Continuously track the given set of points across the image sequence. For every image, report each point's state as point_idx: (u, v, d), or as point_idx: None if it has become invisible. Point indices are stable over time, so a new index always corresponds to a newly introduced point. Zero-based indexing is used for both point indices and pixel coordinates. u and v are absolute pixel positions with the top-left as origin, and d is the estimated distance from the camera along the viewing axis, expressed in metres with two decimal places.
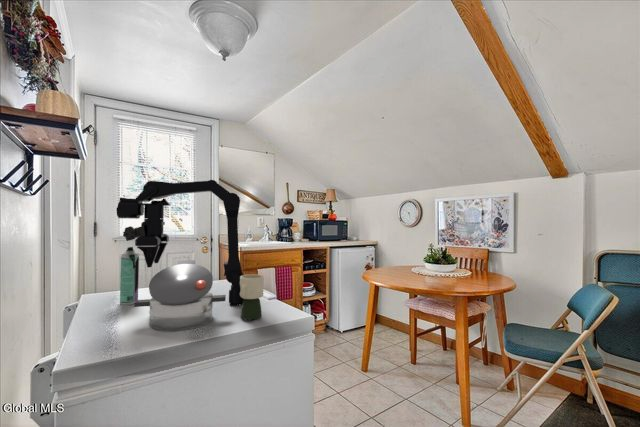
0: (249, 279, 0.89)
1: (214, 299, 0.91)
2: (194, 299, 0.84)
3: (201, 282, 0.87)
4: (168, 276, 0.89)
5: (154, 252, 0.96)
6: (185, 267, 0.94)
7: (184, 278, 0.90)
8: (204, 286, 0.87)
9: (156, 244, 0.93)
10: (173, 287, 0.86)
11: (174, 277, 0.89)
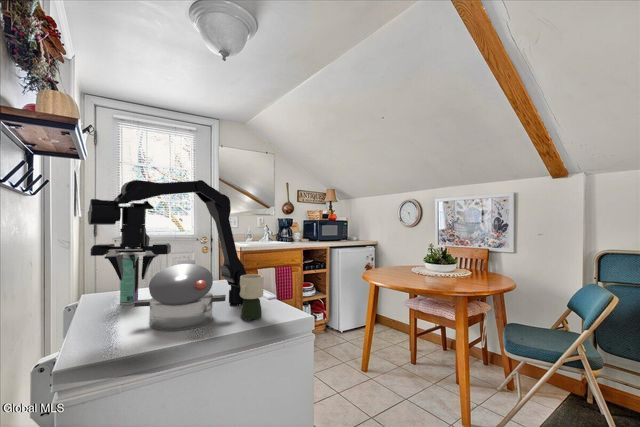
0: (249, 279, 0.89)
1: (214, 299, 0.91)
2: (194, 299, 0.84)
3: (201, 282, 0.87)
4: (168, 276, 0.89)
5: None
6: (185, 267, 0.94)
7: (184, 278, 0.90)
8: (204, 286, 0.87)
9: (91, 254, 0.80)
10: (173, 287, 0.86)
11: (174, 277, 0.89)
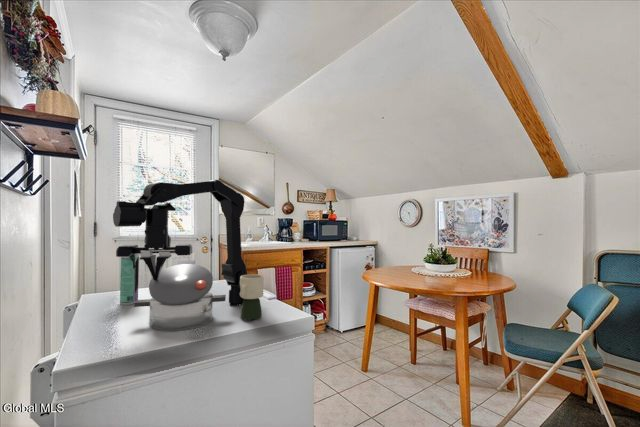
0: (249, 279, 0.89)
1: (214, 299, 0.91)
2: (194, 299, 0.84)
3: (201, 282, 0.87)
4: (168, 276, 0.89)
5: None
6: (185, 267, 0.94)
7: (184, 278, 0.90)
8: (204, 286, 0.87)
9: (117, 255, 0.82)
10: (173, 287, 0.86)
11: (174, 277, 0.89)
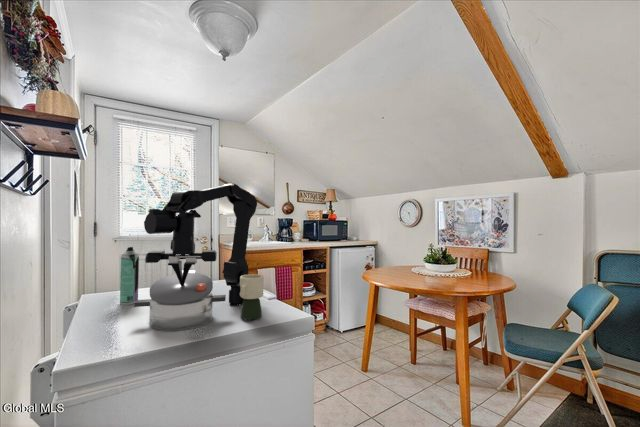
0: (249, 279, 0.89)
1: (214, 299, 0.91)
2: (194, 299, 0.84)
3: (201, 284, 0.88)
4: (169, 282, 0.90)
5: None
6: None
7: (184, 283, 0.90)
8: (204, 288, 0.87)
9: (146, 261, 0.84)
10: (173, 290, 0.86)
11: (174, 283, 0.90)
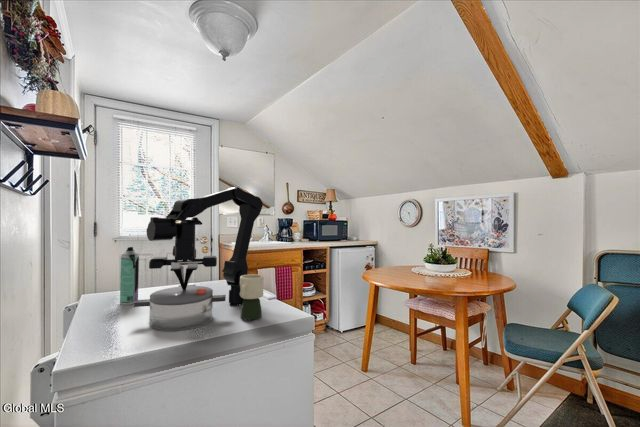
0: (249, 279, 0.89)
1: (214, 299, 0.91)
2: (194, 300, 0.84)
3: (201, 289, 0.89)
4: (169, 291, 0.91)
5: None
6: None
7: (185, 291, 0.91)
8: (204, 292, 0.88)
9: (150, 267, 0.88)
10: (174, 295, 0.87)
11: (175, 291, 0.91)
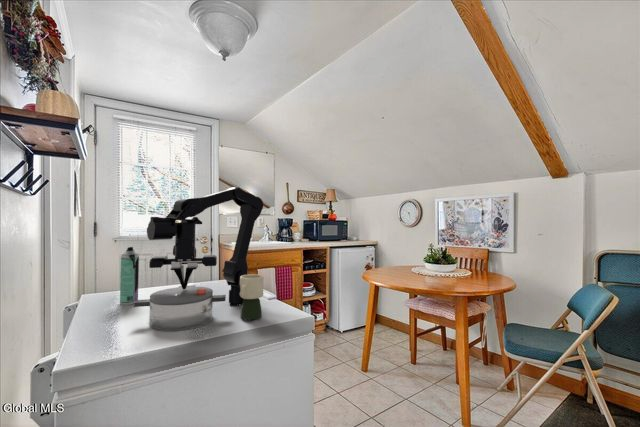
0: (249, 279, 0.89)
1: (214, 299, 0.91)
2: (194, 300, 0.84)
3: (201, 289, 0.89)
4: (169, 291, 0.91)
5: None
6: (186, 287, 0.96)
7: (185, 291, 0.91)
8: (204, 292, 0.88)
9: (150, 266, 0.89)
10: (174, 295, 0.87)
11: (175, 291, 0.91)
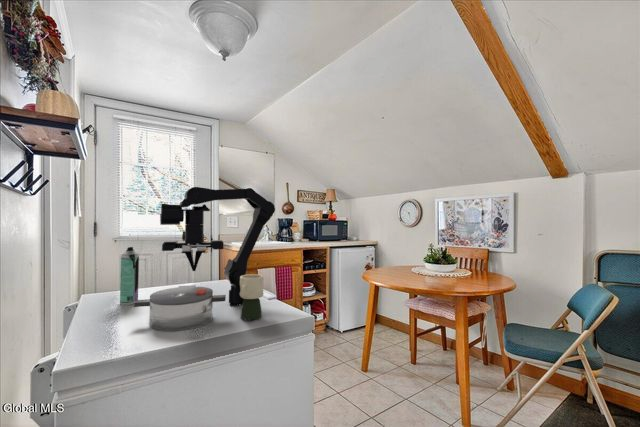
0: (249, 279, 0.89)
1: (214, 299, 0.91)
2: (194, 300, 0.84)
3: (201, 289, 0.89)
4: (169, 291, 0.91)
5: None
6: (186, 287, 0.96)
7: (185, 291, 0.91)
8: (204, 292, 0.88)
9: (163, 249, 0.96)
10: (174, 295, 0.87)
11: (175, 291, 0.91)
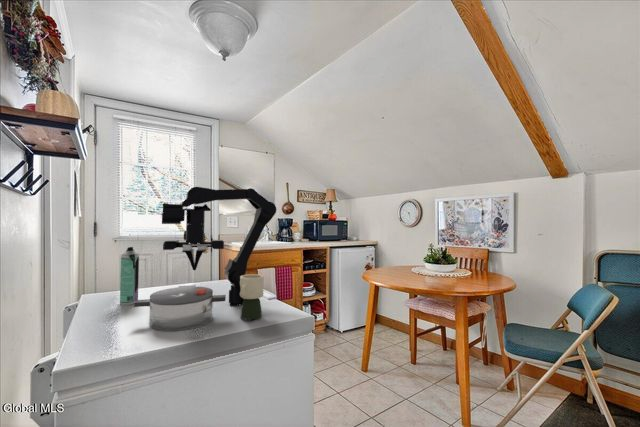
0: (249, 279, 0.89)
1: (214, 299, 0.91)
2: (194, 300, 0.84)
3: (201, 289, 0.89)
4: (169, 291, 0.91)
5: None
6: (186, 287, 0.96)
7: (185, 291, 0.91)
8: (204, 292, 0.88)
9: (164, 248, 0.97)
10: (174, 295, 0.87)
11: (175, 291, 0.91)
